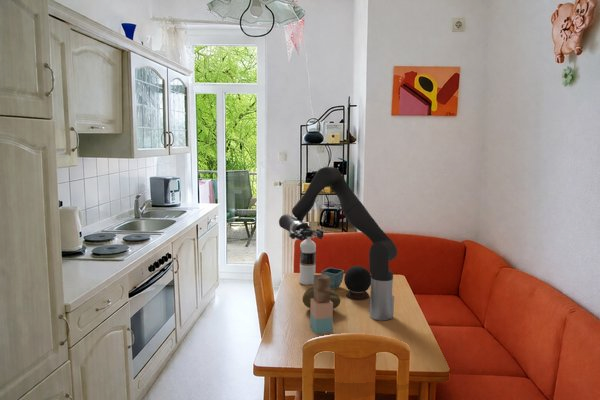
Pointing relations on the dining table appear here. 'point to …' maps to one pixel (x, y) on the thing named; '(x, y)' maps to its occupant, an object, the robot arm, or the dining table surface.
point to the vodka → (307, 262)
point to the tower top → (321, 309)
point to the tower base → (321, 325)
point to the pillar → (322, 288)
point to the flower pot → (334, 277)
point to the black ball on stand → (357, 283)
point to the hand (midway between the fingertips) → (311, 237)
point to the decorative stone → (310, 294)
